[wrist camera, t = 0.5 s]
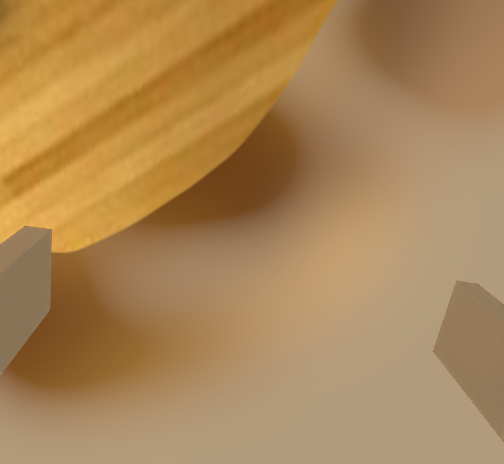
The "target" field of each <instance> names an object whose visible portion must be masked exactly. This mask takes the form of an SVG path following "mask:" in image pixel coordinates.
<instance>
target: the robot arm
mask: <svg viewBox="0 0 504 464" xmlns="http://www.w3.org/2000/svg"><path fill="white" fill-rule="evenodd" d="M51 237H52V229H45V228H37V227H29V226H25V227H23V228H22V229H21V230H19V231H18V232H16V233H15V234H14V235H12V236H11V237H10V238H8V239H7V240H6V241H4V242H3V243H1V244H0V375H1V374H2V372H3V371H4V370H5V368H6V367H7V366H8V364H9V363H10V362H11V360H12V359H13V358H14V357H15V355H16V354H17V353H18V351H19V350H20V349H21V347H22V346H23V345H24V343H25V342H26V341H27V339H28V338H29V337H30V335H31V334H32V333H33V331H34V330H35V329H36V327H37V326H38V325H39V324H40V322H41V321H42V320H43V318H44V317H45V316H46V314H47V313H48V312H49V310H50V284H51V283H50V282H51ZM433 352H434V353H435V355H437V357H438V358H439V360H440V361H441V362H442V363H443V365H444V366H445V367H446V369H447V370H448V371H449V373H450V374H451V375H452V376H453V378H454V379H455V380H456V382H457V383H458V384H459V385H460V386H461V388H462V389H463V391H464V392H465V393H466V394H467V395H468V397H469V398H470V399H471V401H472V402H473V403H474V405H475V406H476V407H477V409H478V410H479V411H480V412H481V414H482V415H483V416H484V418H485V419H486V420H487V421H488V423H489V424H490V425H491V427H492V428H493V429H494V430H495V432H496V433H497V434H498V436H499V437H500V438H501V439H502V441H503V442H504V304H502V303H501V302H500V301H499V300H497V299H496V298H495V297H494V296H492V295H491V294H490V293H489V292H487V291H486V290H485V289H484V288H482V287H481V286H480V285H478V284H476V283H467V282H459V281H456V284H455V287H454V290H453V293H452V296H451V299H450V302H449V305H448V308H447V311H446V314H445V317H444V320H443V323H442V326H441V329H440V332H439V335H438V338H437V341H436V344H435V347H434V350H433Z"/></svg>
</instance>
